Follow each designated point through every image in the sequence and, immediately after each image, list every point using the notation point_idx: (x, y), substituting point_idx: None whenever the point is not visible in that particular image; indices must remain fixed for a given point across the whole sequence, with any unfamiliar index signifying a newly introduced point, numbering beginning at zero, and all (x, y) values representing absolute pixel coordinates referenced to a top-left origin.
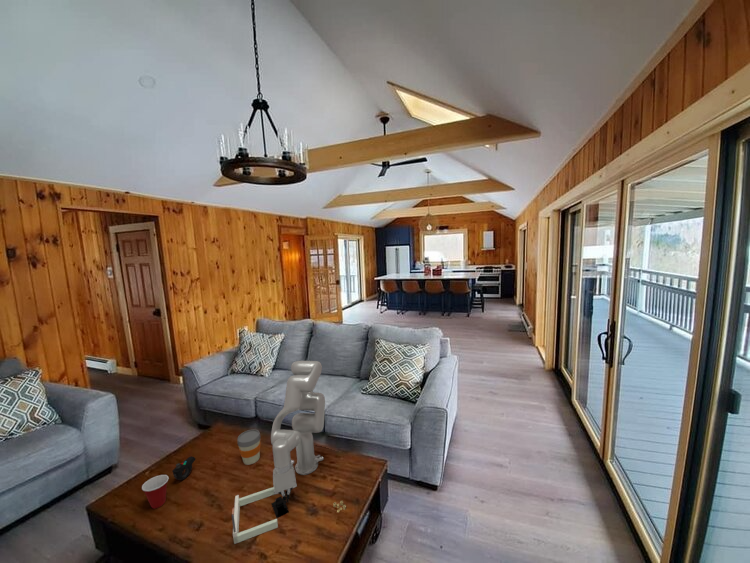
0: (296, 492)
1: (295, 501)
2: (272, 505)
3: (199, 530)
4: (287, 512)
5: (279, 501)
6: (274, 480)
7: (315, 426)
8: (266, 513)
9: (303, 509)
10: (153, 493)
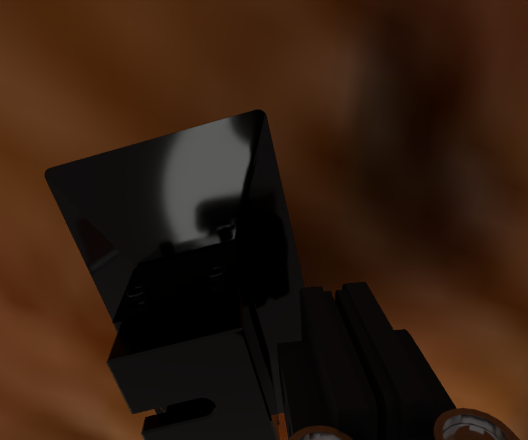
0: (507, 89)
1: (443, 270)
2: (76, 228)
3: None
4: None
5: (208, 436)
6: None
7: None
8: (4, 335)
9: (502, 412)
10: None
